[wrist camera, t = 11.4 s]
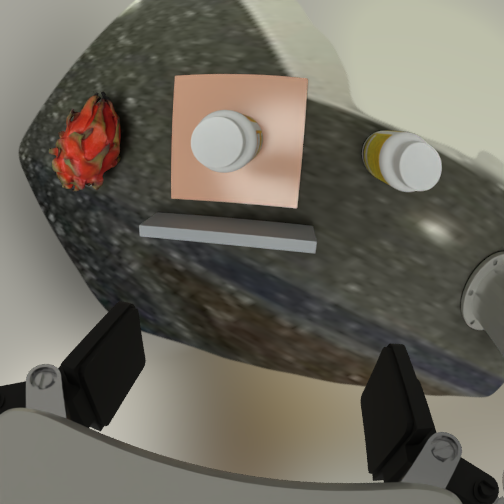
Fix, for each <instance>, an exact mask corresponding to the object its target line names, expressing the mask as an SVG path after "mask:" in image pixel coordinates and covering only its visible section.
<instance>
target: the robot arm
mask: <svg viewBox="0 0 504 504" xmlns="http://www.w3.org/2000/svg"><path fill="white" fill-rule="evenodd" d="M461 313H462V316H463V318H464V320H465V322H466V323H467V324H468V326H469V327H471V328H473V329H476V330H485V331H486V332H487V334H488V335H489V337H490V338H491V339H492V341H493V342H494V344H495V345H496V346H497V348H498V349H499V351H500V352H501V354H502V355H503V356H504V251H503V252H498V253H495V254H493V255H491V256H489V257H488V258H486V259H485V260H484V261H483V262H482V263H481V264H480V265H479V266H478V267H477V268H476V269H475V271H474V272H473V273H472V275H471V276H470V278H469V280H468V282H467V284H466V286H465V289H464V291H463V295H462V299H461ZM144 366H145V354H144V347H143V341H142V335H141V328H140V320H139V313H138V310H137V309H136V308H135V306H134V305H133V304H130V303H126V302H122V301H119V302H118V303H117V304H116V305H115V306H114V307H113V308H112V309H111V310H110V311H109V312H108V313H107V314H106V315H105V316H104V317H103V319H102V320H101V321H100V322H99V323H98V324H97V325H96V326H95V327H94V328H93V329H92V330H91V331H90V332H89V334H88V335H87V336H86V337H85V338H84V339H83V340H82V341H81V342H80V343H79V344H78V345H77V346H76V347H75V349H74V350H73V351H72V352H71V353H70V354H69V355H68V356H67V357H66V359H65V360H64V361H63V362H62V363H61V366H60V367H59V368H57V367H55V366H54V365H50V364H42V365H38V366H36V367H34V368H33V369H31V370H30V371H29V373H28V375H27V377H26V381H25V382H20V383H15V384H10V385H4V386H0V504H504V498H503V497H501V498H499V497H498V493H499V487H498V484H497V482H496V480H495V479H494V478H493V477H492V476H490V475H489V474H487V473H485V472H483V471H482V470H481V469H479V468H477V467H476V466H474V465H472V464H471V463H469V462H468V461H466V460H465V459H463V458H461V454H462V447H461V444H460V442H459V441H458V439H457V438H456V437H455V436H453V435H451V434H449V433H446V432H438V433H436V430H435V426H434V423H433V420H432V417H431V413H430V410H429V407H428V404H427V401H426V398H425V395H424V392H423V389H422V386H421V383H420V381H419V380H418V379H417V377H416V375H415V372H414V369H413V366H412V364H411V361H410V358H409V356H408V353H407V350H406V348H405V346H404V345H403V344H389V345H388V346H387V347H384V348H383V349H382V351H381V354H380V356H379V359H378V361H377V363H376V365H375V368H374V370H373V372H372V374H371V376H370V379H369V381H368V383H367V385H366V387H365V389H364V391H363V393H362V396H361V409H362V417H363V425H364V433H365V441H366V452H367V462H368V471H369V473H371V474H372V475H373V481H377V480H384V483H316V482H300V481H288V480H278V479H269V478H262V477H255V476H248V475H243V474H237V473H231V472H226V471H221V470H216V469H211V468H207V467H203V466H199V465H195V464H191V463H187V462H183V461H179V460H176V459H172V458H169V457H166V456H162V455H159V454H156V453H153V452H149V451H147V450H143V449H141V448H138V447H135V446H132V445H129V444H127V443H124V442H121V441H119V440H116V439H114V438H111V437H108V436H106V435H103V434H101V433H99V432H96V431H94V430H92V429H89V427H92V428H94V429H96V430H99V431H101V430H102V429H103V427H104V426H107V425H109V423H110V422H111V420H112V418H113V417H114V415H115V414H116V412H117V410H118V409H119V407H120V405H121V404H122V402H123V400H124V399H125V397H126V395H127V394H128V392H129V391H130V389H131V387H132V386H133V384H134V382H135V380H136V379H137V378H138V376H139V374H140V373H141V371H142V370H143V368H144ZM502 478H503V479H502V483H503V489H504V472H503V477H502Z"/></svg>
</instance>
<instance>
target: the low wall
mask: <svg viewBox="0 0 504 504" xmlns="http://www.w3.org/2000/svg"><path fill="white" fill-rule="evenodd" d="M139 230H140V236H144V237H155V238H165V239H176V240H186V241H196V242H207V243H217V244H227V245H237V246H247V247H257V248H267V249H277V250H287V251H297V252H307V253H315V251H316V244H317V240H316V236H315V232H314V228H313V226H310V225H301V224H291V223H281V222H271V221H260V220H249V219H238V218H226V217H214V216H202V215H189V214H175V213H160V212H157V213H156V214H155V215H153V216H152V217H150V218H149V219H147V220H146V221H145V222H143V223H142V224H140V225H139Z"/></svg>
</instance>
